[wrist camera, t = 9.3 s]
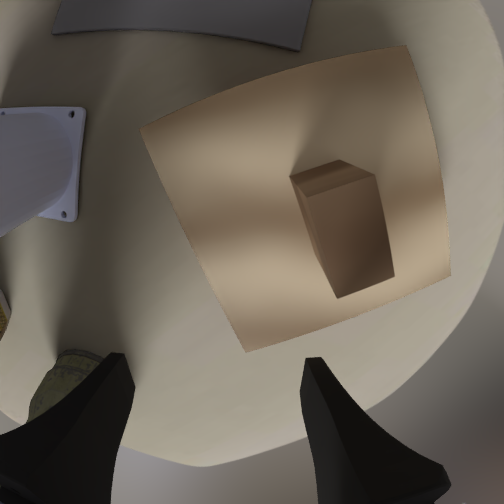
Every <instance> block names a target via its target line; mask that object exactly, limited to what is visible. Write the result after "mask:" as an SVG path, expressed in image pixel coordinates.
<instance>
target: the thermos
mask: <svg viewBox="0 0 504 504" xmlns="http://www.w3.org/2000/svg"><path fill="white" fill-rule="evenodd" d="M103 360H104V359H103V358H101V357H99V356H97V355H94V354H92V353H89V352H87V351H81V350H69V351H65V352H64V353H62V354H61V355H59V357H58V359H57V361H56V363H55V365H54V367H53V368H52V369H51V370H49V371H48V372H47V374H46V375H45V377H44V379H43V380H42V382H41V384H40V385H39V387H38V389H37V390H36V392H35V394H34V396H33V397H32V399H31V402H30V406H29V416H28V420H27V422H26V423H28V422H29V421H31V420H33V419H34V418H36V417H38V416H39V415H41V414H43V413H44V412H46V411H47V410H48V409H50V408H51V407H53V406H54V405H55V404H57V403H58V402H59V401H60V400H62V399H63V398H64V397H65V396H66V395H67V394H68V393H70V392H71V391H72V390H73V389H74V388H75V387H76V386H78V385H79V384H80V383H81V382H82V381H83V380H84V379H85V378H86V377H87V376H88V375H89V374H90V373H91V372H92V371H93V370H94V369H95V368H96V367H97V366H98V365H99V364H100V363H101V362H102V361H103ZM0 487H1V485H0Z"/></svg>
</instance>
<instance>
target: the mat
mask: <svg viewBox="0 0 504 504" xmlns="http://www.w3.org/2000/svg"><path fill="white" fill-rule="evenodd" d="M311 2H312V0H62V2H61V4H60V7H59V10H58V13H57V16H56V19H55V22H54V26H53V29H52V32H51V34H53V35H59V34H68V33H77V32H89V31H107V30H158V31H175V32H188V33H198V34H207V35H215V36H222V37H228V38H235V39H241V40H246V41H252V42H257V43H262V44H266V45H271V46H275V47H280V48H284V49H288V50H292V51H296V52H299V51H300V48H301V44H302V40H303V36H304V31H305V27H306V23H307V19H308V14H309V10H310V6H311Z"/></svg>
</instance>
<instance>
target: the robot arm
mask: <svg viewBox="0 0 504 504" xmlns="http://www.w3.org/2000/svg"><path fill="white" fill-rule="evenodd" d="M73 111H74V112H75V115H74V117H73V118H72V116H71V113H72V112H73ZM4 113H5V115H4ZM85 119H86V110H85V109H84V108H83V107H16V108H0V237H2V236H3V235H5V234H6V233H8V232H10V231H11V230H13V229H14V228H16V227H18V226H19V225H21V224H23V223H24V222H26V221H28V220H29V219H31V218H33V217H34V216H41V217H46V218H51V219H56V220H61V221H66V222H73V221H75V220H76V219H77V216H78V189H79V173H80V161H81V150H82V141H83V133H84V126H85ZM64 211H65V212H66V213H67V217H66V216H65V215H64ZM134 392H135V385H134V382H133V379H132V376H131V373H130V370H129V367H128V364H127V361H126V358H125V354H122V353H113V352H111V353H110V354H109V355H108V356H107V357H106V358H105V359H104V360H103V361H102V362H101V363H100V364H99V365H98V366H97V367H96V368H95V369H94V370H93V371H92V372H91V373H90V374H89V375H88V376H87V377H86V378H85V379H84V380H83V381H82V382H81V383H80V384H79V385H78V386H76V387H75V388H74V389H73V390H72V391H71V392H70V393H68V394H67V395H66V396H65V397H64V398H63V399H62V400H60V401H59V402H58V403H57V404H55V405H54V406H53V407H51V408H50V409H48V410H47V411H46V412H44V413H43V414H41V415H39V416H38V417H36V418H34V419H33V420H31V421H29V422H28V423H26V424H24V425H22V426H20V427H18V428H16V429H14V430H12V431H9V432H7V433H5V434H2V435H0V485H1V487H0V504H111V490H112V481H113V473H114V467H115V461H116V456H117V452H118V448H119V445H120V442H121V439H122V436H123V433H124V430H125V427H126V424H127V420H128V417H129V414H130V411H131V408H132V403H133V398H134ZM300 398H301V407H302V415H303V419H304V423H305V427H306V431H307V435H308V439H309V443H310V448H311V452H312V456H313V461H314V466H315V474H316V483H317V492H318V493H317V494H318V504H434V502H435V501H436V500H437V499H438V498H440V497H441V496H442V495H443V494H445V493H446V492H447V491H448V490H449V488H450V486H451V482H450V480H449V478H448V475H447V473H446V471H445V469H444V467H443V466H442V465H441V464H439V463H436V462H434V461H432V460H430V459H428V458H426V457H424V456H422V455H420V454H418V453H417V452H415V451H413V450H412V449H410V448H408V447H407V446H405V445H404V444H402V443H401V442H400V441H398V440H397V439H395V438H394V437H392V436H391V435H390V434H389V433H387V432H386V431H385V430H384V429H382V428H381V427H380V426H379V425H378V424H377V423H376V422H375V421H373V420H372V419H371V418H370V417H369V416H368V415H367V414H366V413H365V412H364V411H363V410H362V409H361V407H360V406H359V405H358V404H357V403H356V402H355V401H354V400H353V399H352V397H351V396H350V395H349V394H348V393H347V391H346V390H345V389H344V388H343V386H342V385H341V384H340V382H339V381H338V380H337V378H336V377H335V376H334V374H333V373H332V372H331V370H330V369H329V367H328V366H327V364H326V363H325V361H324V360H323V359H322V358H321V357H314V358H306V359H305V365H304V371H303V376H302V382H301V387H300ZM462 504H466V503H462Z"/></svg>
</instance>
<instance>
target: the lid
mask: <svg viewBox="0 0 504 504" xmlns="http://www.w3.org/2000/svg"><path fill="white" fill-rule="evenodd" d="M139 131H140V133H141V136H142V138H143V140H144V143H145V145H146V147H147V150H148V152H149V154H150V157H151V159H152V161H153V164H154V166H155V168H156V171H157V173H158V175H159V177H160V180H161V182H162V184H163V186H164V189H165V191H166V193H167V195H168V197H169V200H170V202H171V204H172V206H173V208H174V211H175V213H176V215H177V217H178V219H179V221H180V223H181V226H182V228H183V230H184V232H185V234H186V236H187V238H188V240H189V242H190V245H191V247H192V249H193V251H194V253H195V255H196V257H197V259H198V261H199V263H200V265H201V267H202V269H203V271H204V273H205V275H206V277H207V279H208V281H209V283H210V285H211V287H212V289H213V291H214V293H215V295H216V297H217V299H218V301H219V303H220V305H221V307H222V309H223V311H224V313H225V314H226V316H227V318H228V320H229V322H230V324H231V326H232V328H233V330H234V332H235V333H236V335H237V337H238V339H239V341H240V343H241V345H242V347H243V348H244V350H245V352H250V351H253V350H257V349H260V348H263V347H267V346H270V345H273V344H277V343H280V342H283V341H286V340H289V339H292V338H295V337H298V336H302V335H305V334H307V333H310V332H313V331H316V330H319V329H322V328H325V327H328V326H331V325H333V324H336V323H339V322H342V321H344V320H347V319H350V318H352V317H355V316H358V315H360V314H363V313H365V312H368V311H371V310H373V309H376V308H378V307H381V306H383V305H386V304H388V303H390V302H393V301H395V300H398V299H400V298H402V297H405V296H407V295H409V294H412V293H414V292H416V291H418V290H421V289H423V288H425V287H427V286H430V285H432V284H434V283H436V282H438V281H440V280H443V279H445V278H447V277H449V276H451V272H450V247H449V233H448V222H447V212H446V203H445V195H444V188H443V182H442V175H441V170H440V164H439V159H438V153H437V148H436V144H435V139H434V135H433V130H432V126H431V122H430V118H429V114H428V110H427V107H426V103H425V100H424V96H423V93H422V90H421V86H420V83H419V80H418V77H417V74H416V71H415V68H414V65H413V62H412V60H411V57H410V54H409V51H408V49H407V46H406V45H404V46H396V47H388V48H382V49H375V50H370V51H364V52H358V53H353V54H348V55H343V56H339V57H334V58H330V59H325V60H321V61H317V62H313V63H309V64H305V65H302V66H298V67H294V68H291V69H287V70H284V71H281V72H277V73H274V74H271V75H268V76H265V77H262V78H258V79H256V80H253V81H250V82H247V83H244V84H241V85H238V86H236V87H233V88H230V89H227V90H225V91H222V92H220V93H217V94H214V95H212V96H209V97H207V98H205V99H202V100H200V101H197V102H195V103H193V104H190V105H188V106H186V107H183V108H181V109H179V110H177V111H175V112H172V113H170V114H168V115H166V116H164V117H162V118H160V119H158V120H156V121H153V122H151V123H149V124H147V125H145V126H143V127H142V128H140V129H139Z"/></svg>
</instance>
